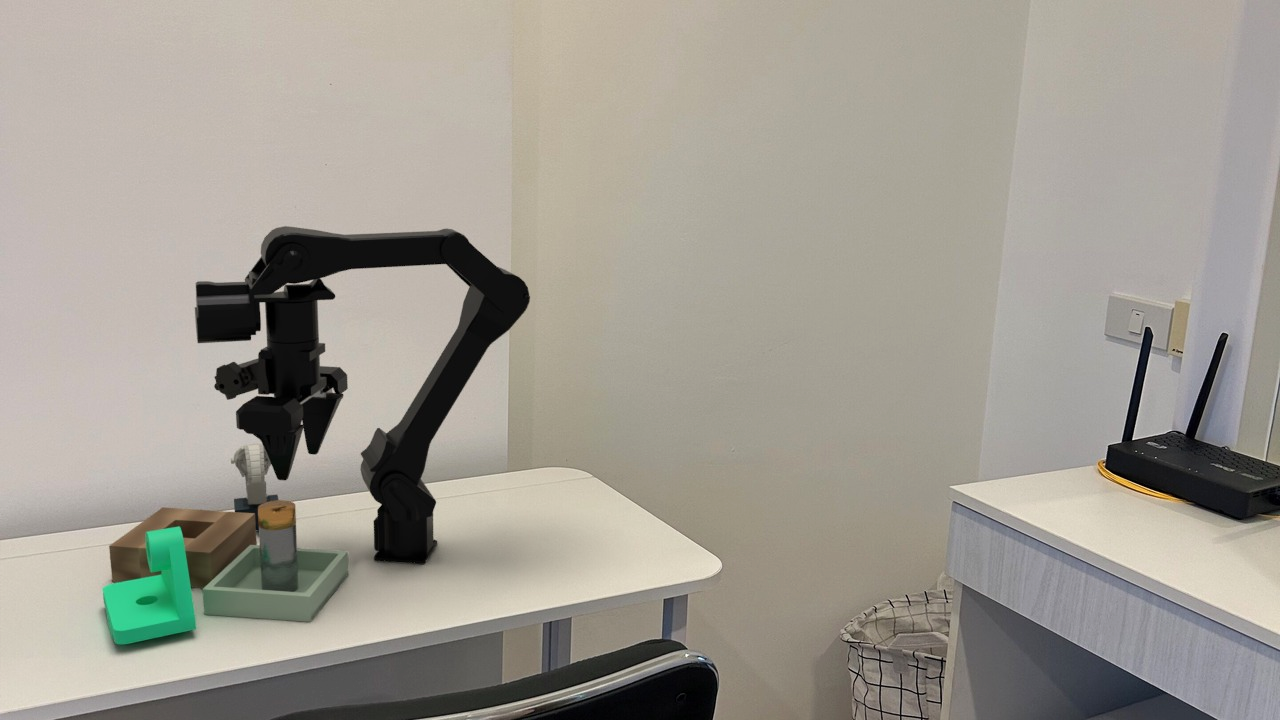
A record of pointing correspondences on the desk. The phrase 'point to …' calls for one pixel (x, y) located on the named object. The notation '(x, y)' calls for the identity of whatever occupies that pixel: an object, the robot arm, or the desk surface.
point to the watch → (252, 478)
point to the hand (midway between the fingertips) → (298, 466)
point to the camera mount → (153, 594)
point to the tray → (245, 597)
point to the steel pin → (278, 546)
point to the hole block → (186, 543)
